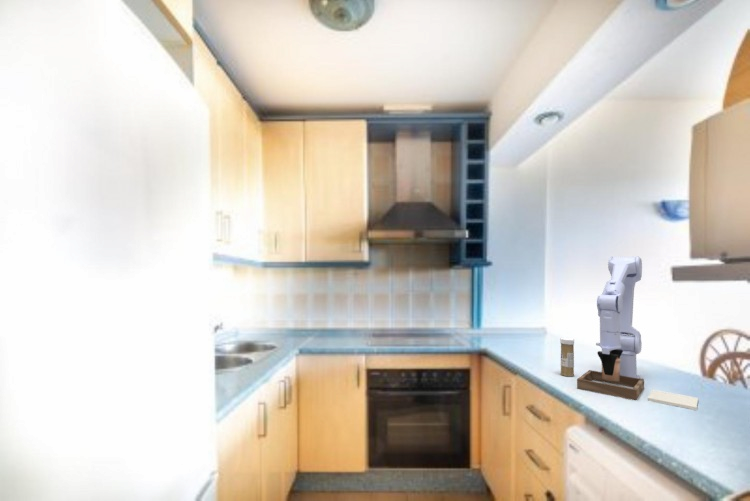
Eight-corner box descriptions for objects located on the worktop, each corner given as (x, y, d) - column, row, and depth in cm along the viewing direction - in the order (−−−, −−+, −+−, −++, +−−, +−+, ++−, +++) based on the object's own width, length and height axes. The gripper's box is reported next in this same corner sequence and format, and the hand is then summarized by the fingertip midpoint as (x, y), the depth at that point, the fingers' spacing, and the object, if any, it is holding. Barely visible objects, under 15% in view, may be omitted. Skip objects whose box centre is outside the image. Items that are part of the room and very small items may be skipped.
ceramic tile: (652, 392, 120) (652, 389, 120) (698, 400, 113) (697, 397, 113) (647, 400, 112) (647, 397, 112) (696, 410, 105) (696, 407, 105)
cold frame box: (589, 378, 134) (589, 370, 135) (644, 388, 124) (644, 379, 124) (577, 388, 123) (577, 379, 123) (636, 400, 112) (636, 390, 112)
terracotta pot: (602, 375, 127) (602, 354, 128) (622, 379, 124) (622, 357, 124) (598, 379, 123) (598, 357, 124) (619, 382, 119) (618, 360, 120)
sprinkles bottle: (557, 373, 140) (557, 337, 141) (569, 373, 141) (569, 337, 142) (565, 377, 136) (565, 339, 137) (577, 376, 136) (576, 339, 137)
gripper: (601, 327, 132) (601, 366, 132) (590, 332, 121) (591, 374, 121) (624, 329, 127) (625, 370, 127) (616, 335, 117) (617, 379, 116)
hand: (610, 373), depth 123 cm, fingers closed on terracotta pot, 5 cm apart
